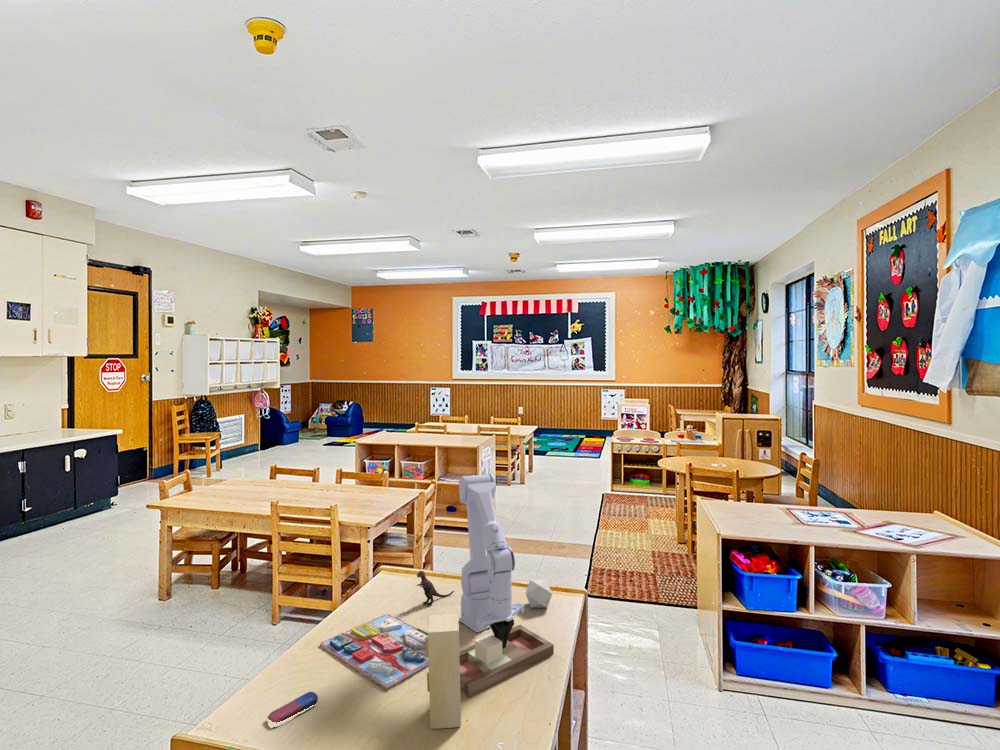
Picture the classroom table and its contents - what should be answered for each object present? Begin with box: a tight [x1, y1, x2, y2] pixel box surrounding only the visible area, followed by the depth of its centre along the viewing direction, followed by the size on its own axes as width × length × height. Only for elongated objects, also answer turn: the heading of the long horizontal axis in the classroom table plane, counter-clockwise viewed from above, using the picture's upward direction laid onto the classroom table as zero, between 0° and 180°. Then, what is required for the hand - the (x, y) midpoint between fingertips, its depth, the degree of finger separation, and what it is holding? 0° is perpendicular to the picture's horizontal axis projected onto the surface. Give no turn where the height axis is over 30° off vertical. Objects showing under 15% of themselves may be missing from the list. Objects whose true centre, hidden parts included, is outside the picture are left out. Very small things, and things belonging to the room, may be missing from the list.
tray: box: [459, 624, 555, 698], centre depth 136 cm, size 14×28×2 cm, turn 129°
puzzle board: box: [319, 613, 429, 691], centre depth 144 cm, size 30×23×3 cm
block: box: [474, 633, 502, 664], centre depth 135 cm, size 5×5×4 cm
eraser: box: [267, 691, 319, 723], centre depth 118 cm, size 11×4×2 cm, turn 138°
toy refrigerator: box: [425, 613, 462, 730], centre depth 116 cm, size 8×7×21 cm
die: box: [524, 579, 553, 609], centre depth 167 cm, size 8×9×10 cm
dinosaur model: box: [416, 570, 455, 607], centre depth 171 cm, size 4×11×14 cm
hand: (501, 646), depth 137 cm, fingers closed
